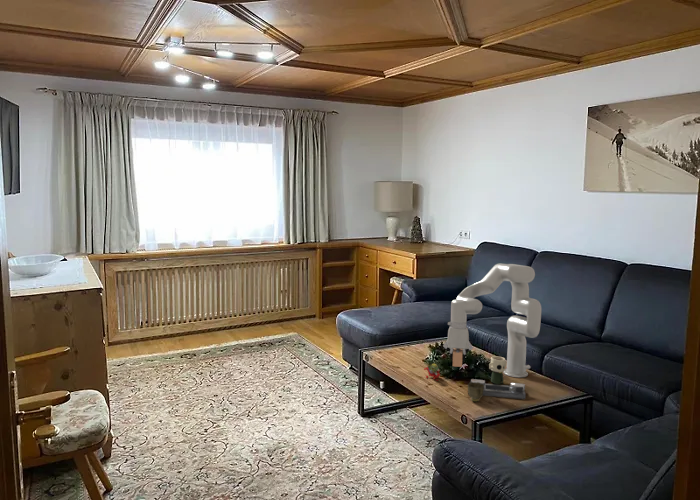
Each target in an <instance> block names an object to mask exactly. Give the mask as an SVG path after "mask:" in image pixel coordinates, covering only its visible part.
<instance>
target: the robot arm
mask: <svg viewBox="0 0 700 500" xmlns="http://www.w3.org/2000/svg"><path fill="white" fill-rule="evenodd" d="M535 276H536V273H535V269H534V268H533V267H531V266H528V265H522V264H515V263H500V262H499V263H496V264H494V265H493V267H491V269H490V270H489V271H488V272H487V273H486V275H485V276H483V278H482V279H481V280H480V281H478V282H475V283H473V284H471V285H469V286H467V287H465V288H464V289H463V290H462V291H461V292H460V293H459V294H458V295H457V297H455V298H456V299H453V300H452V301H451V303H450V321H448V322H447V325H448V326H449V328H448V330H447V340H446V341H445V342H444V343H443V344H442V345H443V348H444V349H445V350H447V352H448V353H449V354H450V355H449V356H450V357H449V359H450V360H451V362H452V363H453V348H455V349H462V350H463V353H462V363H465V362H464V361H466V354H467V353H469V352H470V351H471V350H473V349H474V347H473V345H472V344H471V342H470V341H469V340H470V337H469V336H470V335H469V328H468V327H467V315H477V314H479V313H481V312H482V309H483V303H482V302H481V301H480V300H479V299H477V298H476V297H480V296H486V295H490V294H493V293H494V292H495V291H496V290H497V289H498V288H499V287H500V285H501V284H503V282H510V285H511V304H510V305H511V307H510V308H511V311H512V312H513V313H515V314H518V315H511V316H510V317H509V318H508V319H507V322H506V329H507V350H506V351H507V352H506V353H507V354H506V368H505V370H504V372H502V373H503V374H504V375H505V376H509V377H511V378H526V377H528V375H529V373H528V371H527V370H529V369H531V365H529V364H526V362H527V361H526V360H527V359H526V357H527V339H526V338H530V339H531V338H533V339H534V338H537V337H538V335H539V333H540V330H541V324H542V323H541V321H542V304H541V303H540V300H538V299H535V298H533V297H532V298H531V297H530V287H529V283H531V282H533V281H534V279H535ZM521 315H523V316H521ZM525 316H526V317H525Z"/></svg>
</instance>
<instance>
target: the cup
mask: <svg viewBox="0 0 700 500" xmlns="http://www.w3.org/2000/svg"><path fill="white" fill-rule="evenodd" d="M483 390H484V384H481V383H478V382H477V383H476V382H475V383H473V382H471V381H470V382H468V383H467V391H468V396H469V397H470V399H471V401H472V402H474V403H479V402H480V399H481V398H482V397H483V396H484V395H483Z"/></svg>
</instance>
